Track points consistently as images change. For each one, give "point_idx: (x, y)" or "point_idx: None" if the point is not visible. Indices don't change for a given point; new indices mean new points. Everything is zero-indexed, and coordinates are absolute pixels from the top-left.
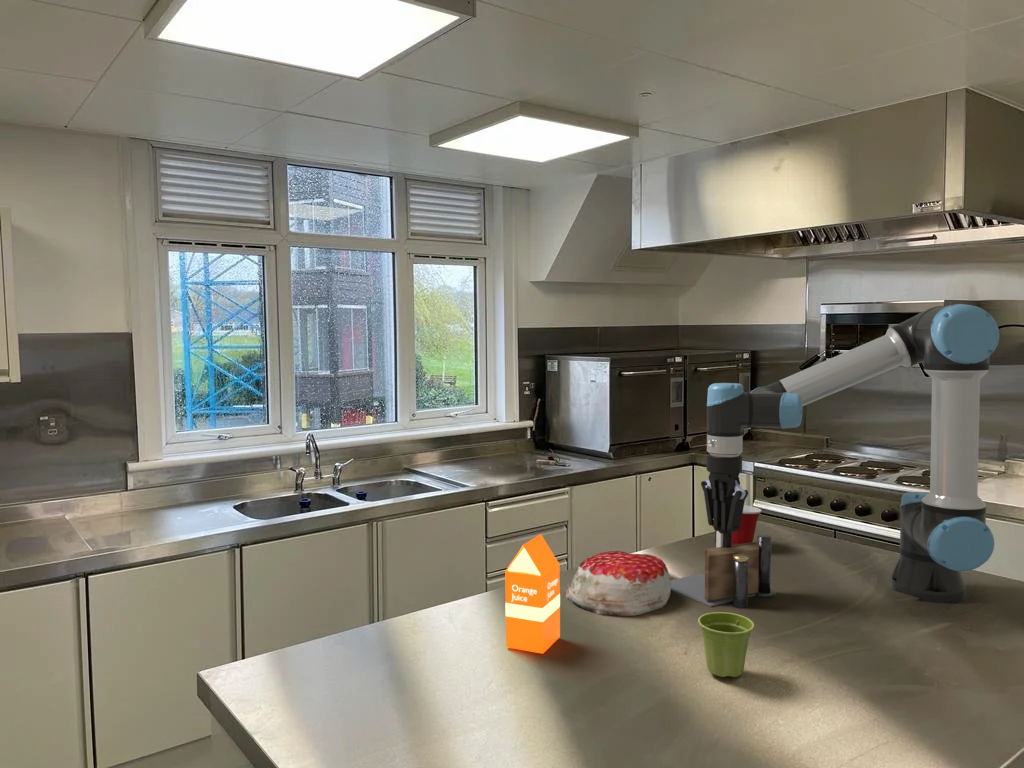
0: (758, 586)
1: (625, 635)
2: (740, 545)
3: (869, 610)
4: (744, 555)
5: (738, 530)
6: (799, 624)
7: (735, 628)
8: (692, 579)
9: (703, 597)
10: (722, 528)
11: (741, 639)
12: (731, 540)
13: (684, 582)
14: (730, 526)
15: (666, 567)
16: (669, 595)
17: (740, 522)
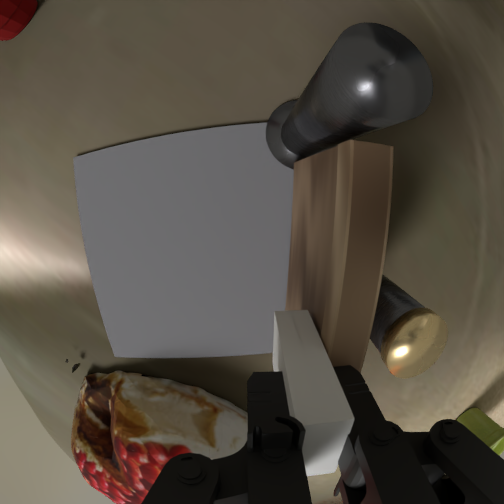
0: (307, 154)
1: (324, 483)
2: (364, 298)
3: (467, 46)
4: (425, 329)
5: (450, 419)
6: (476, 232)
7: (486, 435)
8: (111, 261)
9: (257, 332)
10: (353, 491)
11: (501, 441)
12: (369, 391)
13: (126, 299)
14: (438, 491)
15: (211, 459)
16: (242, 416)
17: (497, 455)
